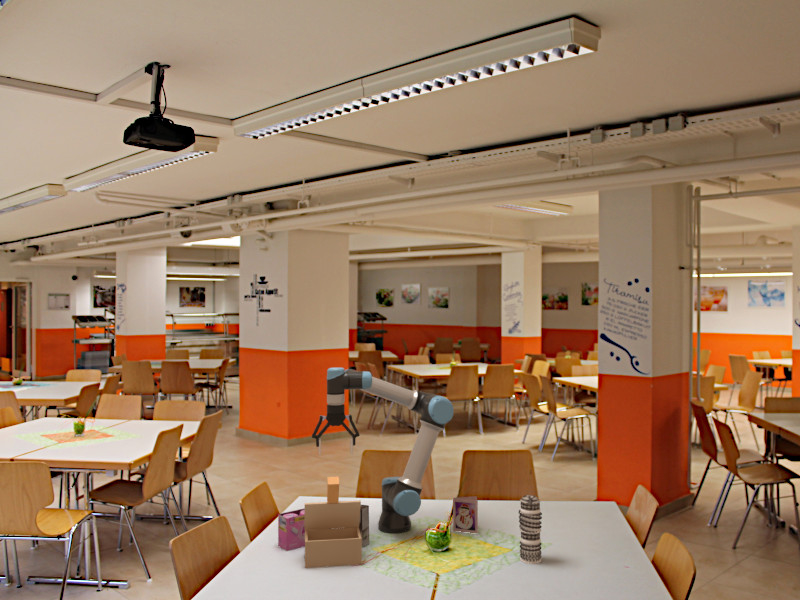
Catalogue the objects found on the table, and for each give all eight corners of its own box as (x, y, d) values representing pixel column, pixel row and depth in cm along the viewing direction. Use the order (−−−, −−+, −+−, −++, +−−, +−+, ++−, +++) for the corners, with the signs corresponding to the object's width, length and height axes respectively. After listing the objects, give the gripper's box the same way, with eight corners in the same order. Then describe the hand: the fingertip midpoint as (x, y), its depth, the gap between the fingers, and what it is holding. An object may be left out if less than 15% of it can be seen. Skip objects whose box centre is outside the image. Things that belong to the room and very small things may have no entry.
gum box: (325, 533, 285) (325, 503, 286) (335, 538, 279) (335, 507, 280) (277, 546, 270) (277, 513, 271) (286, 551, 264) (286, 518, 264)
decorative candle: (528, 566, 247) (528, 501, 248) (514, 558, 256) (513, 495, 256) (547, 561, 252) (546, 498, 252) (532, 554, 260) (531, 492, 261)
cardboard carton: (358, 551, 263) (358, 527, 263) (361, 564, 249) (361, 538, 250) (304, 554, 260) (304, 529, 260) (305, 567, 246) (305, 541, 246)
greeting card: (452, 531, 287) (452, 498, 288) (457, 526, 294) (457, 494, 295) (477, 534, 283) (477, 500, 284) (481, 529, 290) (481, 496, 290)
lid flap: (359, 527, 264) (358, 519, 267) (362, 483, 251) (361, 475, 254) (304, 529, 260) (304, 522, 264) (304, 485, 247) (304, 477, 251)
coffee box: (369, 543, 273) (369, 505, 274) (362, 548, 267) (362, 509, 268) (351, 540, 277) (351, 502, 277) (343, 544, 271) (343, 506, 272)
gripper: (363, 402, 278) (364, 450, 277) (306, 403, 274) (306, 453, 273) (365, 404, 271) (365, 454, 270) (306, 405, 267) (306, 456, 266)
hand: (335, 453), depth 272 cm, fingers open, 13 cm apart
